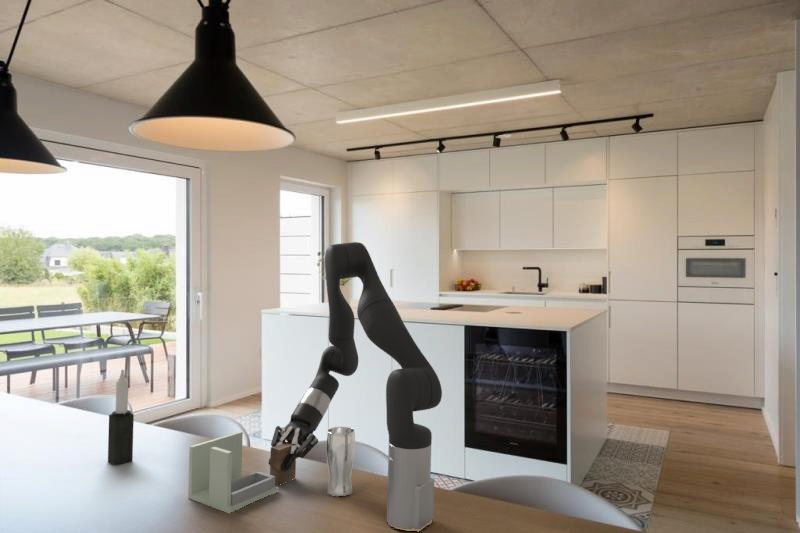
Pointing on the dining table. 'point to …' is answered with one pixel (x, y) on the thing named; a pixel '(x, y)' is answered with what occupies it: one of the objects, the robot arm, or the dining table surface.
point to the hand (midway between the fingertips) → (277, 467)
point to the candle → (121, 426)
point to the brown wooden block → (276, 461)
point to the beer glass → (340, 460)
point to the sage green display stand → (225, 475)
